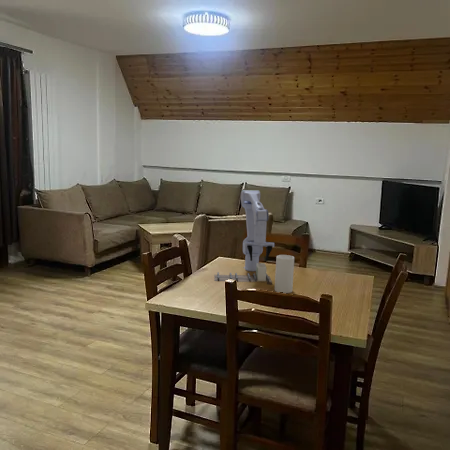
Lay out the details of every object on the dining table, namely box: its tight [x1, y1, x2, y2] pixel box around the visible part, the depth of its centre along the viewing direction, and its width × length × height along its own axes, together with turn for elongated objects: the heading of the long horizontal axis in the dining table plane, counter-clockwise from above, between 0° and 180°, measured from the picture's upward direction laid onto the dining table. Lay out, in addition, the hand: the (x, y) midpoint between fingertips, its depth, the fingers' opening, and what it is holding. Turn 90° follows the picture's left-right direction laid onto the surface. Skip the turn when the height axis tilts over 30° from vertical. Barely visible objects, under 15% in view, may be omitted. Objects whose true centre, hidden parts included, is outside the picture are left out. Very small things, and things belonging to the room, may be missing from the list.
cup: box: [274, 254, 295, 294], centre depth 210 cm, size 8×8×16 cm
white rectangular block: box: [255, 262, 267, 281], centre depth 225 cm, size 8×4×7 cm, turn 2°
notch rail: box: [213, 271, 273, 285], centre depth 225 cm, size 11×28×2 cm, turn 92°
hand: (258, 260), depth 227 cm, fingers open, 7 cm apart
